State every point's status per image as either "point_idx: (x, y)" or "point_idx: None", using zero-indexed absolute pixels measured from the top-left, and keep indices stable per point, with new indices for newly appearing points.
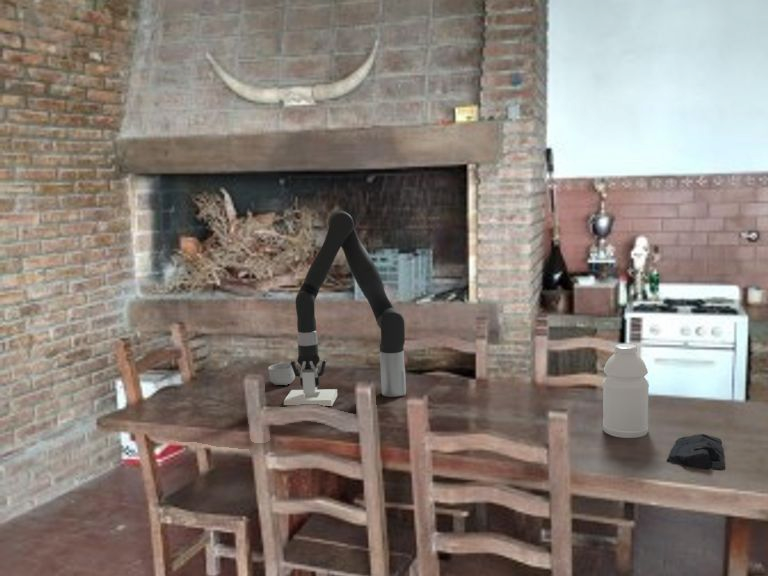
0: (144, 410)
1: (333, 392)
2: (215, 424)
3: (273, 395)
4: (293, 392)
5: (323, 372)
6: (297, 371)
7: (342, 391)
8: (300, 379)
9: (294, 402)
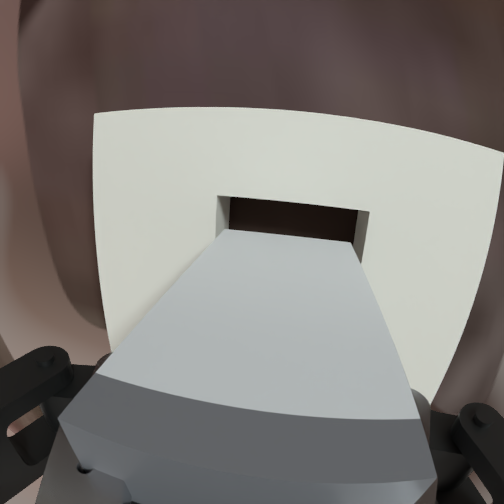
0: None
1: (476, 246)
2: (20, 423)
3: (27, 107)
4: (118, 188)
5: (493, 437)
6: (32, 394)
7: (496, 59)
8: None
9: None
